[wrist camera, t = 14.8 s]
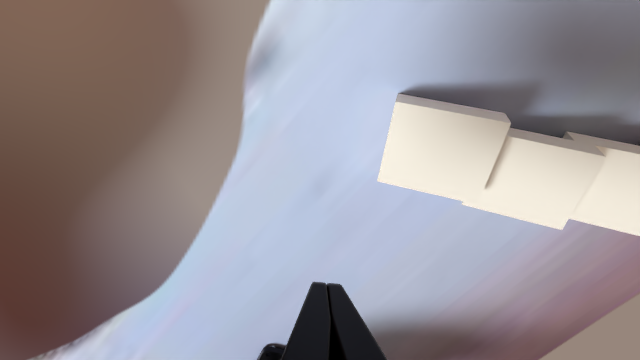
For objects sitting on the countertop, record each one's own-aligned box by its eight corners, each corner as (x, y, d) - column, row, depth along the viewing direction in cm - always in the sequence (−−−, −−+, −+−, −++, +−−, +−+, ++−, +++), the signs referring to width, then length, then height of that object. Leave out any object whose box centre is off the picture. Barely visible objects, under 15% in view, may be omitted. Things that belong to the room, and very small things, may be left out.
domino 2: (487, 122, 19) (594, 144, 18) (460, 191, 22) (553, 214, 20) (490, 132, 18) (606, 156, 17) (461, 204, 20) (561, 230, 19)
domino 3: (565, 131, 20) (675, 153, 19) (531, 197, 22) (627, 220, 21) (574, 141, 18) (693, 165, 17) (537, 210, 21) (639, 236, 20)
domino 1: (397, 93, 18) (504, 113, 17) (380, 168, 21) (474, 189, 20) (395, 101, 17) (511, 123, 16) (377, 181, 19) (477, 204, 18)
